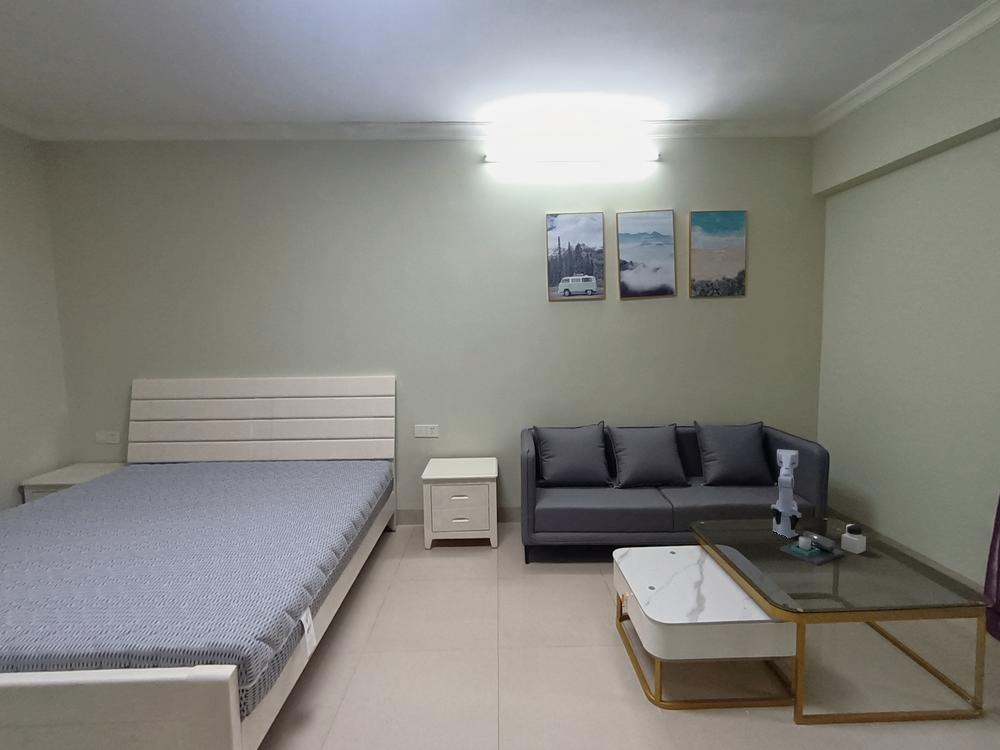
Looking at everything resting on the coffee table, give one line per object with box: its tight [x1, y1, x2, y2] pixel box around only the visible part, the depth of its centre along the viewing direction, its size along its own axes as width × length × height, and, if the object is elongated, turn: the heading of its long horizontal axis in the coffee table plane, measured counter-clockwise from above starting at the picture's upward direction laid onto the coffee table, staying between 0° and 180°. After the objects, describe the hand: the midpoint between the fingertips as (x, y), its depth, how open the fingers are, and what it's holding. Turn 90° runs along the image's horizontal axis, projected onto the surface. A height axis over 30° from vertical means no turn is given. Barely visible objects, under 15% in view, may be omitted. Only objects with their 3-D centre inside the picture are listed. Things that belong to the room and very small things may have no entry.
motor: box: [779, 530, 845, 566], centre depth 238 cm, size 18×20×7 cm
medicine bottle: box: [841, 523, 867, 555], centre depth 238 cm, size 7×7×12 cm
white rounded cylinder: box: [798, 535, 811, 552], centre depth 236 cm, size 5×5×6 cm
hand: (785, 526), depth 246 cm, fingers open, 7 cm apart
